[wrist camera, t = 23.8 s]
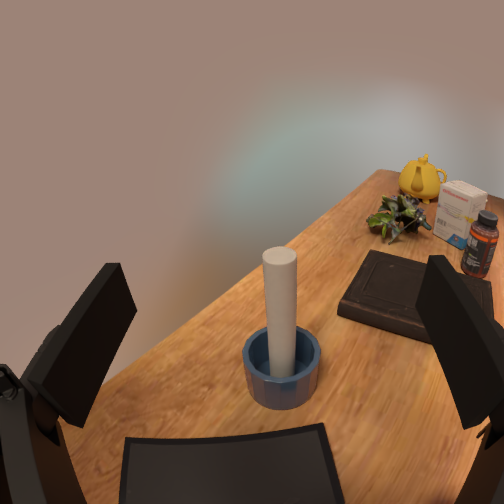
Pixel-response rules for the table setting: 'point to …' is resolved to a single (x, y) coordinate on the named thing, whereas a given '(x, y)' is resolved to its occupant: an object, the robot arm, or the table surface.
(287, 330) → the white cylindrical rod
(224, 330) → the table surface
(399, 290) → the dark brown flat block
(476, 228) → the supplement bottle
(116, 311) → the robot arm
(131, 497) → the tablet
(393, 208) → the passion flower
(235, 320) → the table surface
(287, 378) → the pen pot
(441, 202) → the ink box
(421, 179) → the teapot
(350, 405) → the table surface
